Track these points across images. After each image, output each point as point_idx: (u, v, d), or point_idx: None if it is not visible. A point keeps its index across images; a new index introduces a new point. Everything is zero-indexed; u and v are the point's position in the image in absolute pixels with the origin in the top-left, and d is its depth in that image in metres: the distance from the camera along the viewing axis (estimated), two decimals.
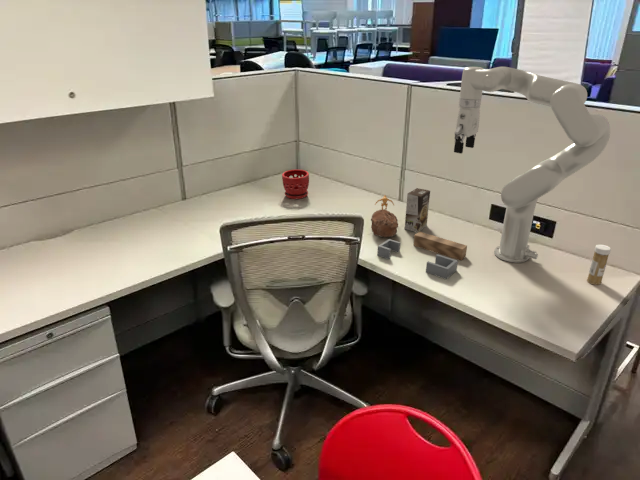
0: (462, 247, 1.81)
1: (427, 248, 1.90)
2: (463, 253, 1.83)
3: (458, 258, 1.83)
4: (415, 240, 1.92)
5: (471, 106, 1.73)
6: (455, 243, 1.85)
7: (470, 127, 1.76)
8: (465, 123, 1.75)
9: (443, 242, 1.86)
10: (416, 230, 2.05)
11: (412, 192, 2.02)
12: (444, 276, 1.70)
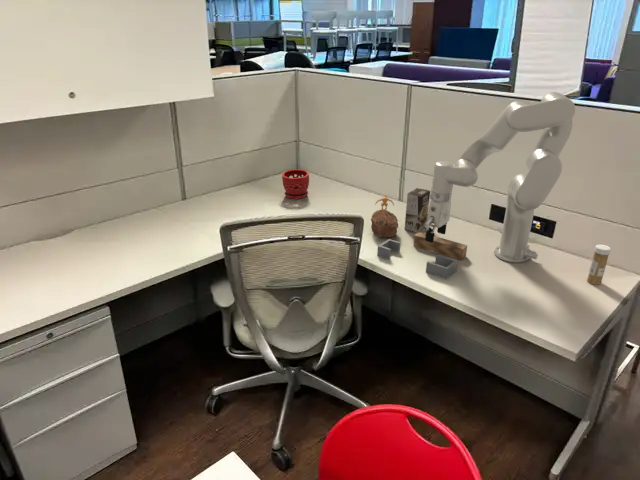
0: (462, 247, 1.82)
1: (427, 248, 1.90)
2: (464, 253, 1.83)
3: (458, 258, 1.83)
4: (415, 240, 1.92)
5: (442, 200, 1.78)
6: (455, 243, 1.85)
7: (441, 219, 1.80)
8: (436, 215, 1.79)
9: (443, 242, 1.86)
10: (416, 230, 2.05)
11: (412, 192, 2.02)
12: (444, 276, 1.70)
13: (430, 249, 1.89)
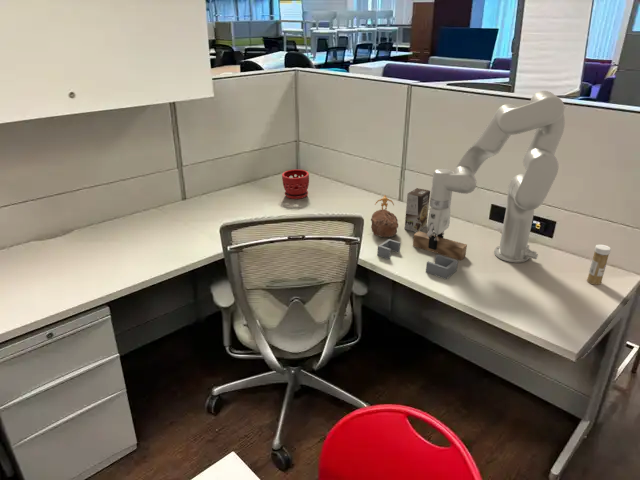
0: (462, 247, 1.81)
1: (427, 247, 1.90)
2: (463, 252, 1.83)
3: (458, 257, 1.83)
4: (414, 240, 1.92)
5: (441, 207, 1.79)
6: (455, 242, 1.85)
7: (440, 226, 1.81)
8: (435, 222, 1.80)
9: (443, 241, 1.86)
10: (416, 230, 2.05)
11: (412, 192, 2.02)
12: (444, 276, 1.70)
13: None
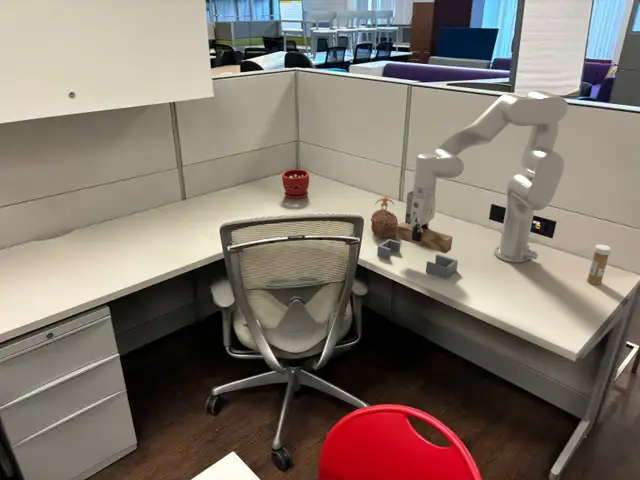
0: (447, 239, 1.68)
1: (410, 239, 1.76)
2: (448, 245, 1.69)
3: (443, 250, 1.69)
4: (397, 231, 1.79)
5: (425, 195, 1.65)
6: (440, 234, 1.71)
7: (424, 215, 1.68)
8: (419, 212, 1.67)
9: (427, 233, 1.72)
10: None
11: (412, 192, 2.02)
12: (444, 276, 1.70)
13: (413, 241, 1.76)
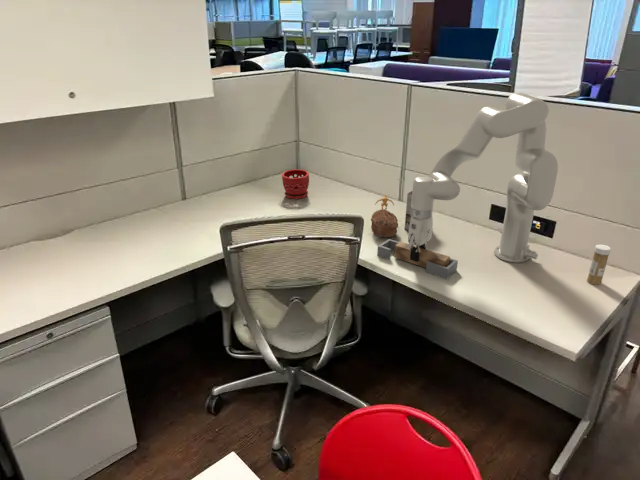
0: (444, 259, 1.72)
1: (409, 259, 1.80)
2: (446, 265, 1.73)
3: None
4: (396, 251, 1.83)
5: (422, 217, 1.69)
6: (437, 254, 1.75)
7: (422, 236, 1.72)
8: (416, 233, 1.70)
9: (425, 253, 1.76)
10: None
11: None
12: (444, 276, 1.70)
13: (411, 260, 1.80)
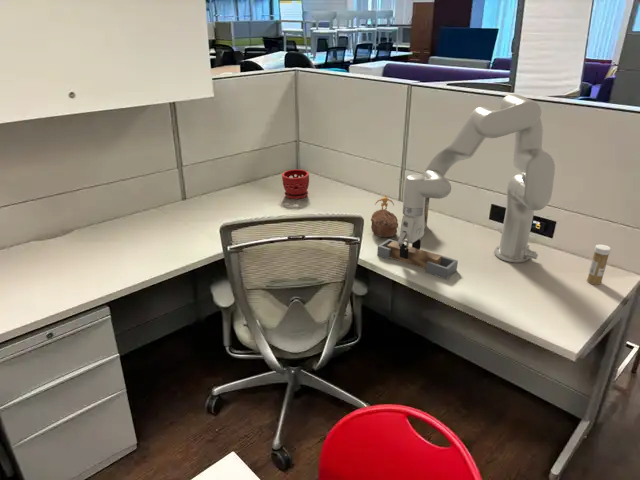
0: (437, 258, 1.74)
1: (401, 258, 1.82)
2: (438, 264, 1.75)
3: None
4: None
5: (414, 214, 1.71)
6: (429, 253, 1.77)
7: (414, 234, 1.73)
8: (408, 231, 1.72)
9: (417, 252, 1.78)
10: None
11: None
12: (444, 276, 1.70)
13: (404, 260, 1.82)
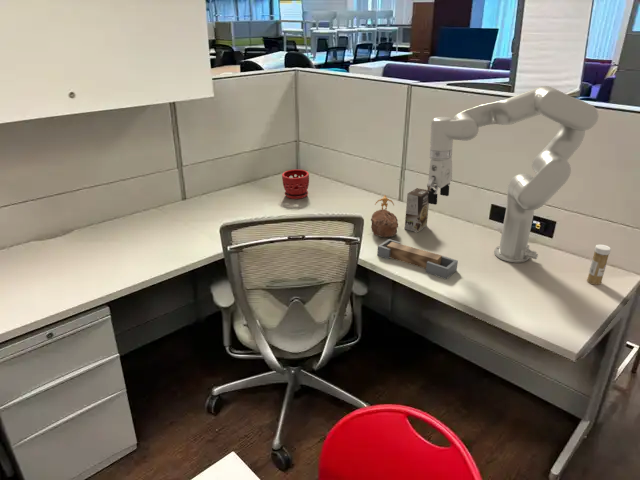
0: (437, 258, 1.74)
1: (401, 259, 1.82)
2: (438, 263, 1.75)
3: None
4: None
5: (442, 157, 1.68)
6: (429, 253, 1.77)
7: (443, 178, 1.71)
8: (437, 175, 1.70)
9: (417, 253, 1.78)
10: (416, 230, 2.05)
11: (412, 192, 2.02)
12: (444, 276, 1.70)
13: (404, 260, 1.81)
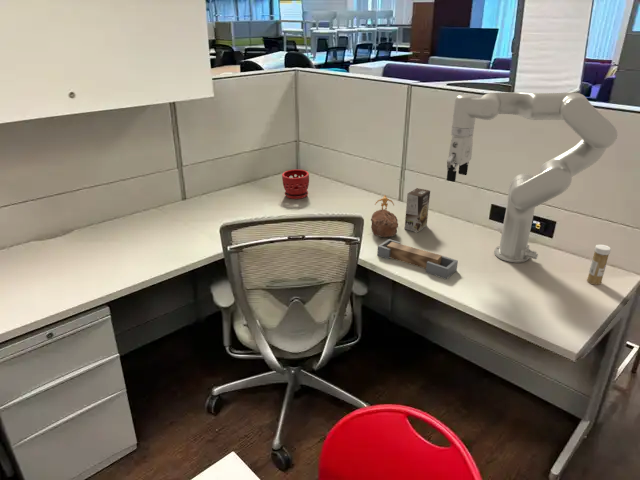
0: (437, 258, 1.74)
1: (401, 259, 1.82)
2: (438, 263, 1.75)
3: None
4: None
5: (464, 135, 1.70)
6: (429, 253, 1.77)
7: (463, 155, 1.73)
8: (458, 152, 1.72)
9: (417, 253, 1.78)
10: (416, 230, 2.05)
11: (412, 192, 2.02)
12: (444, 276, 1.70)
13: (404, 260, 1.81)
